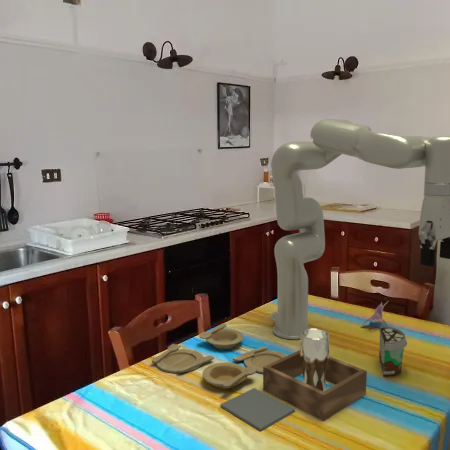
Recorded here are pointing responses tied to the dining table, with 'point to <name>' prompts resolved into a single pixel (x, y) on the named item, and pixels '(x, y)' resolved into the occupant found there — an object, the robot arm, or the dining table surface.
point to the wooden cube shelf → (310, 396)
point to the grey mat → (257, 409)
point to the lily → (377, 314)
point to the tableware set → (219, 372)
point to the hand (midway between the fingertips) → (437, 261)
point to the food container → (391, 350)
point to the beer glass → (314, 357)
